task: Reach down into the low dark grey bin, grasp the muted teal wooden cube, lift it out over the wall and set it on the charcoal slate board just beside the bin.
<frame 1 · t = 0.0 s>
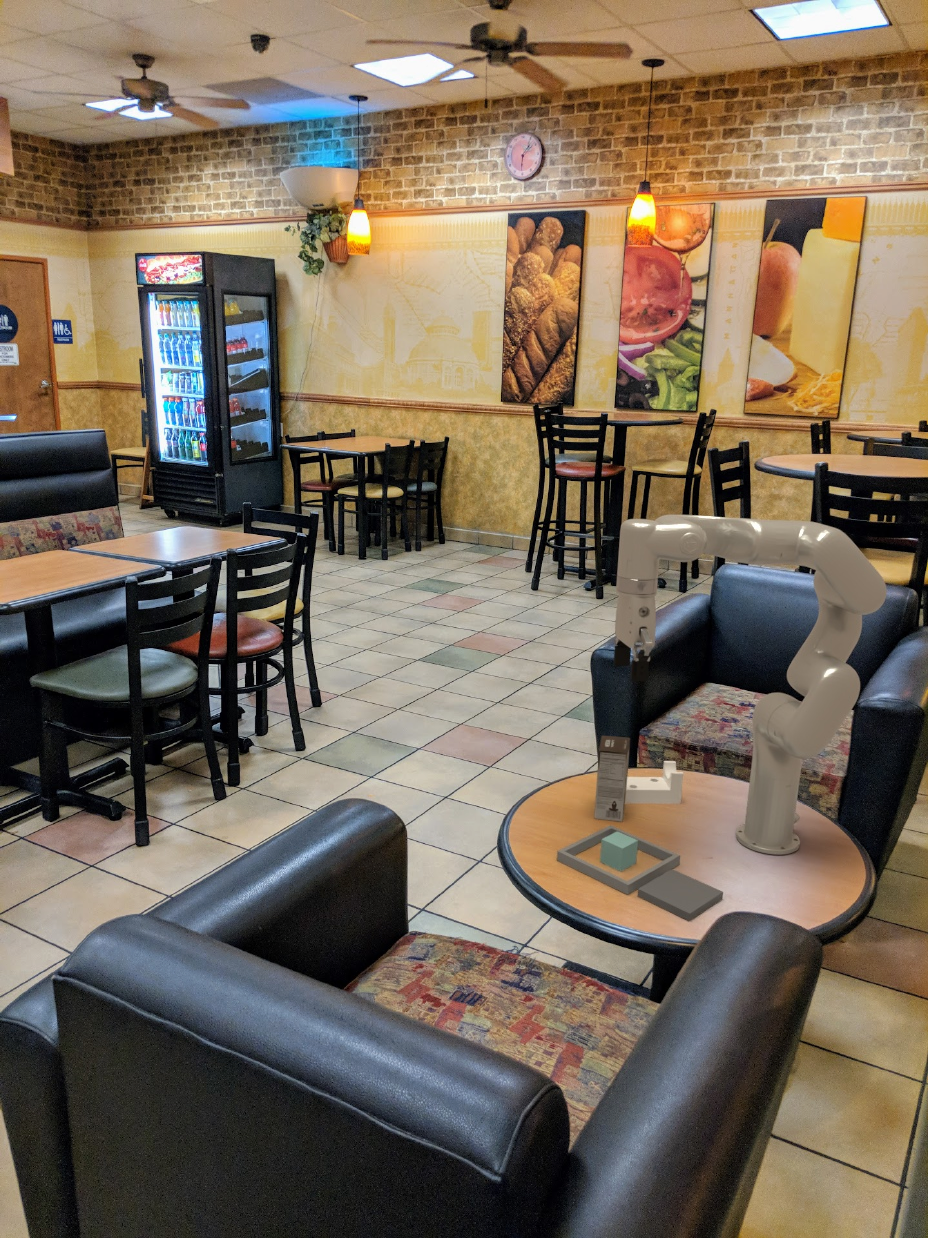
hand: (630, 672, 181), 37 cm above the table, tool pointing down, fingers open, 9 cm apart
coffee box: (609, 812, 207), on the table
low bin: (618, 862, 185), on the table
bracket: (648, 798, 215), on the table
slate board: (679, 897, 173), on the table
teal cube: (618, 863, 185), resting in low bin
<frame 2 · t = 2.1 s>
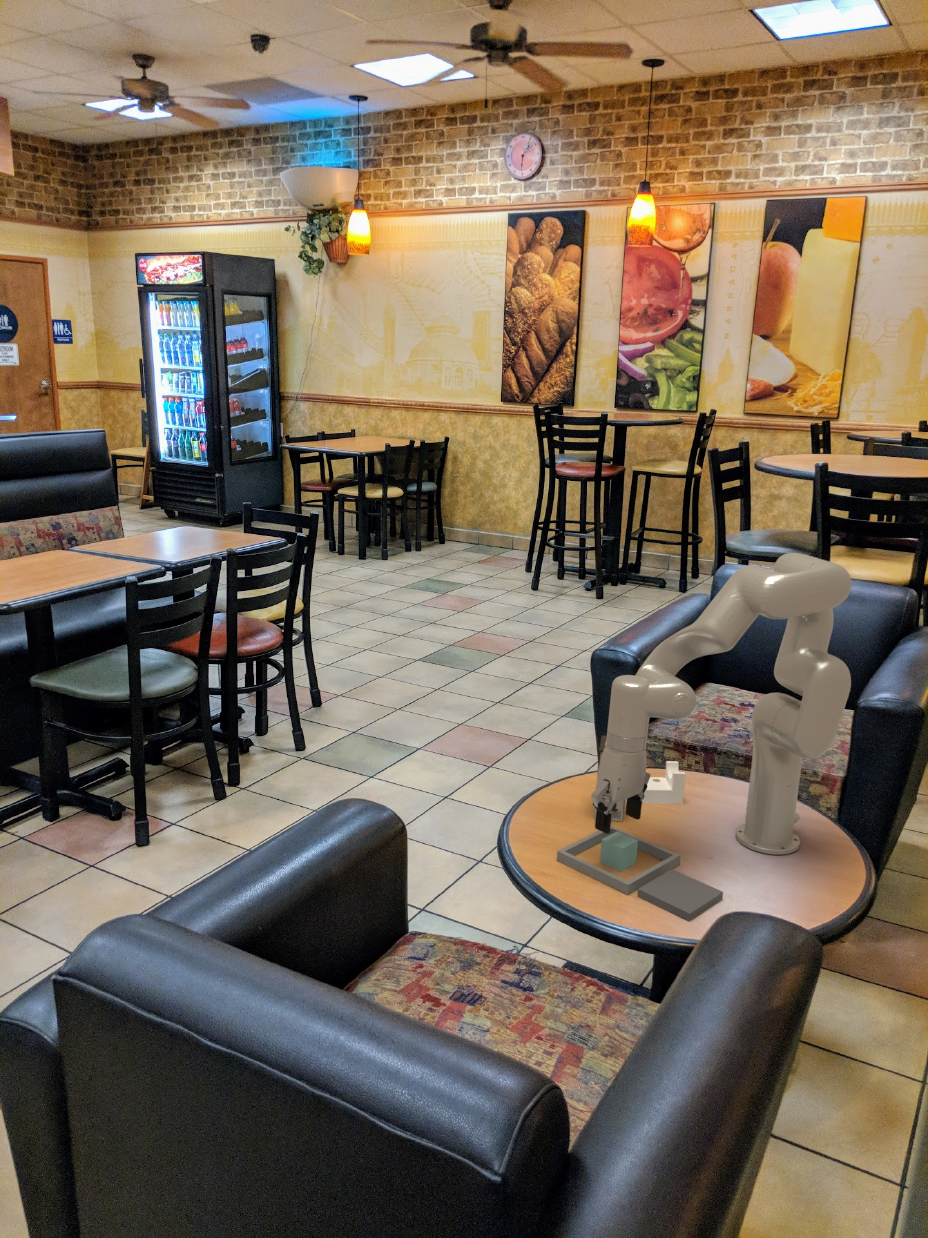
hand: (617, 823, 183), 8 cm above the table, tool pointing down, fingers open, 9 cm apart
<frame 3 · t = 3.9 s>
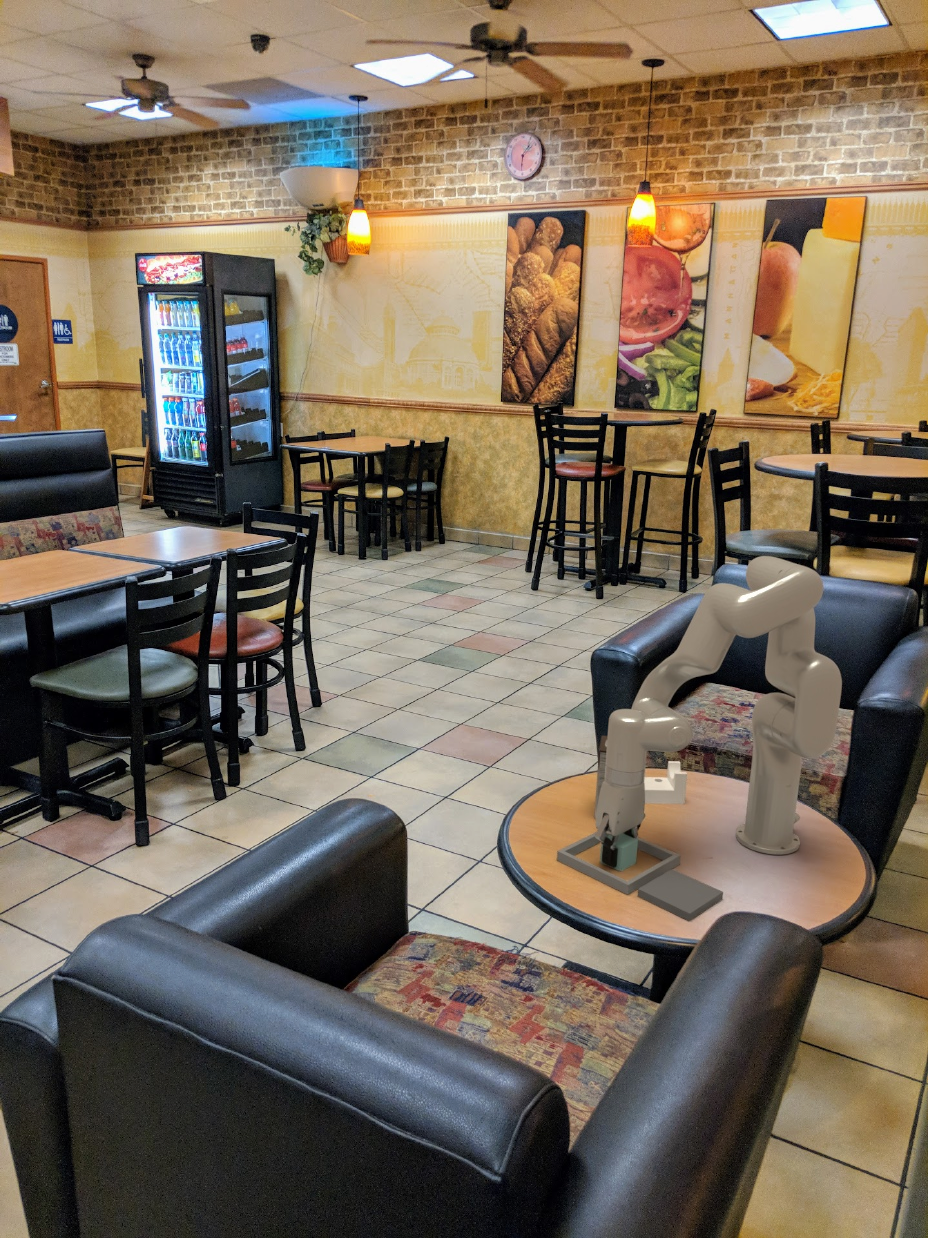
hand: (618, 859, 185), 1 cm above the table, tool pointing down, fingers closed on teal cube, 5 cm apart
teal cube: (617, 862, 185), resting in low bin, touching gripper
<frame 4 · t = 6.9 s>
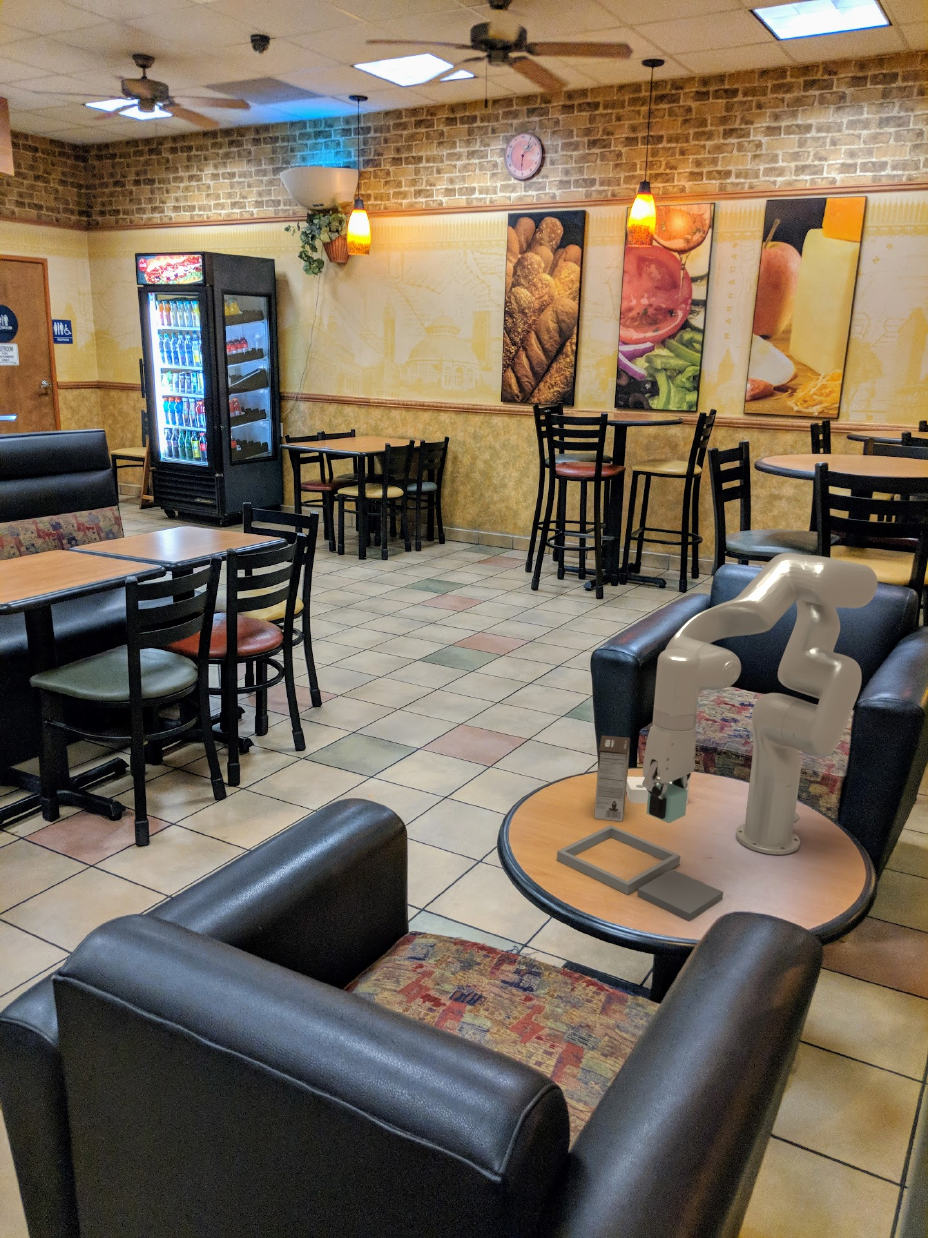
hand: (666, 810, 173), 15 cm above the table, tool pointing down, fingers closed on teal cube, 5 cm apart
teal cube: (665, 814, 173), point 15 cm above the table, touching gripper
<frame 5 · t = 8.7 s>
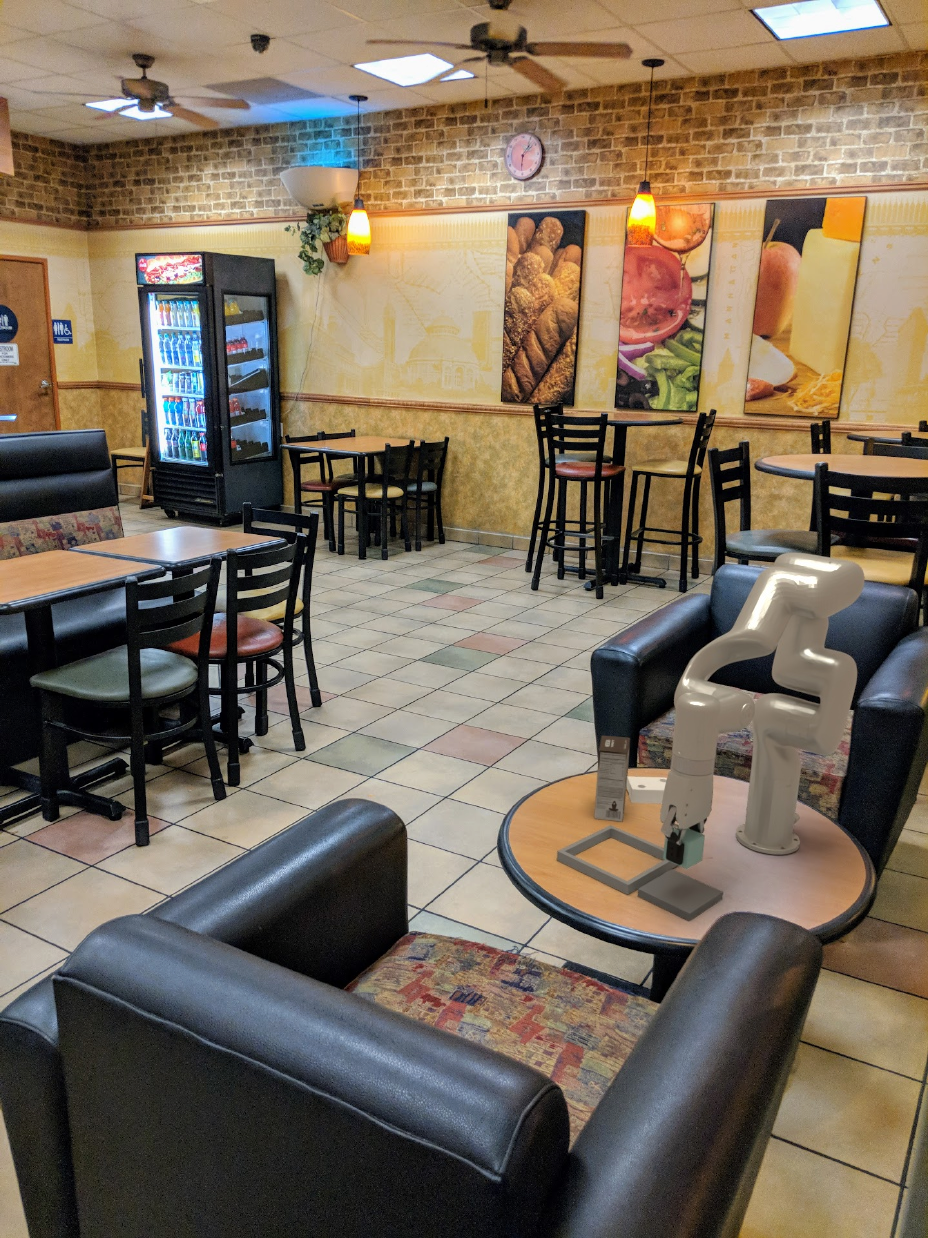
hand: (683, 856, 171), 9 cm above the table, tool pointing down, fingers closed on teal cube, 5 cm apart
teal cube: (682, 859, 171), point 8 cm above the table, touching gripper
when the fingers open (4 cm above the table, at t = 10.3 s): teal cube drops 2 cm, resting on slate board.
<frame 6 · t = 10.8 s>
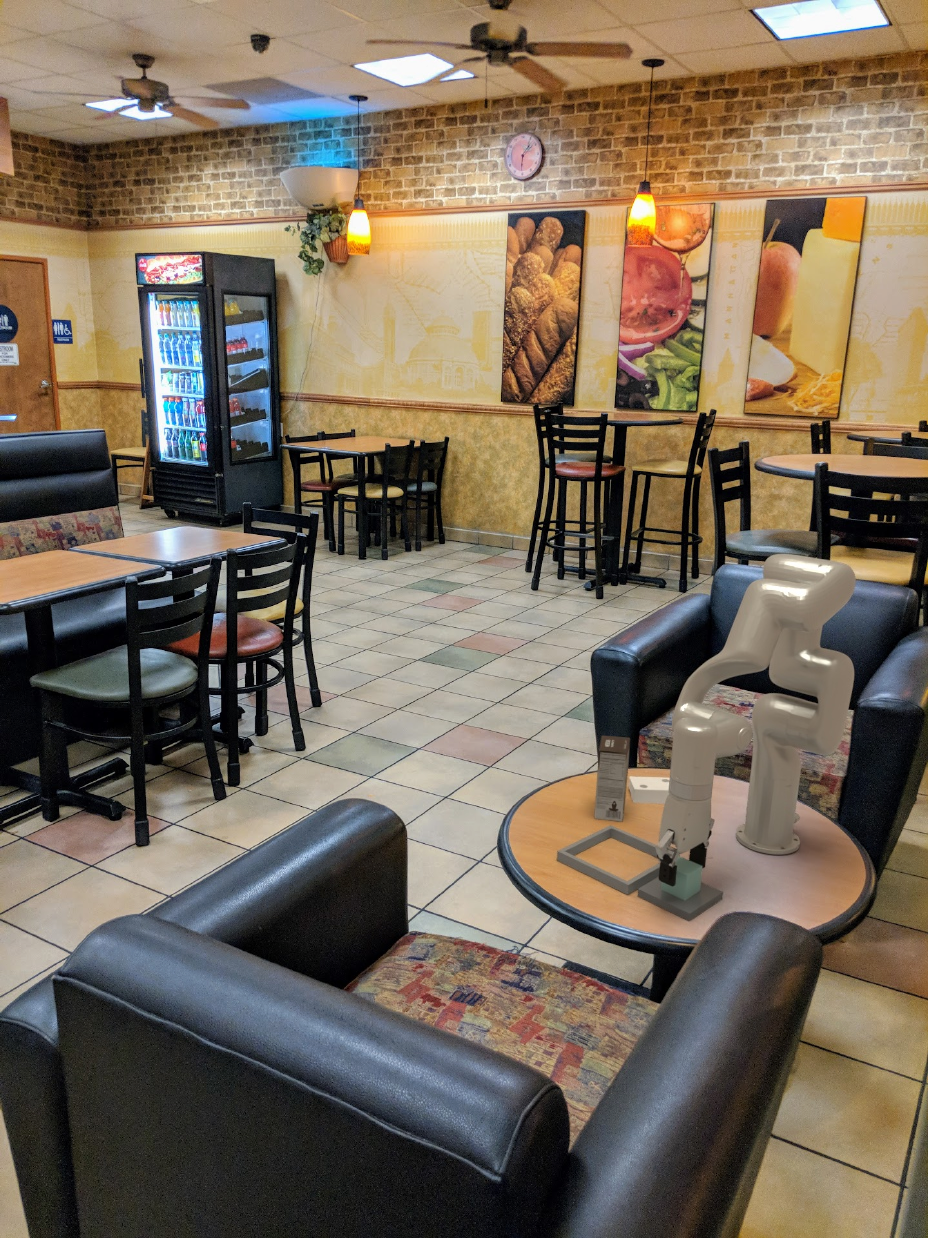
hand: (682, 874, 172), 5 cm above the table, tool pointing down, fingers open, 9 cm apart
teal cube: (680, 890, 172), point 1 cm above the table, touching slate board
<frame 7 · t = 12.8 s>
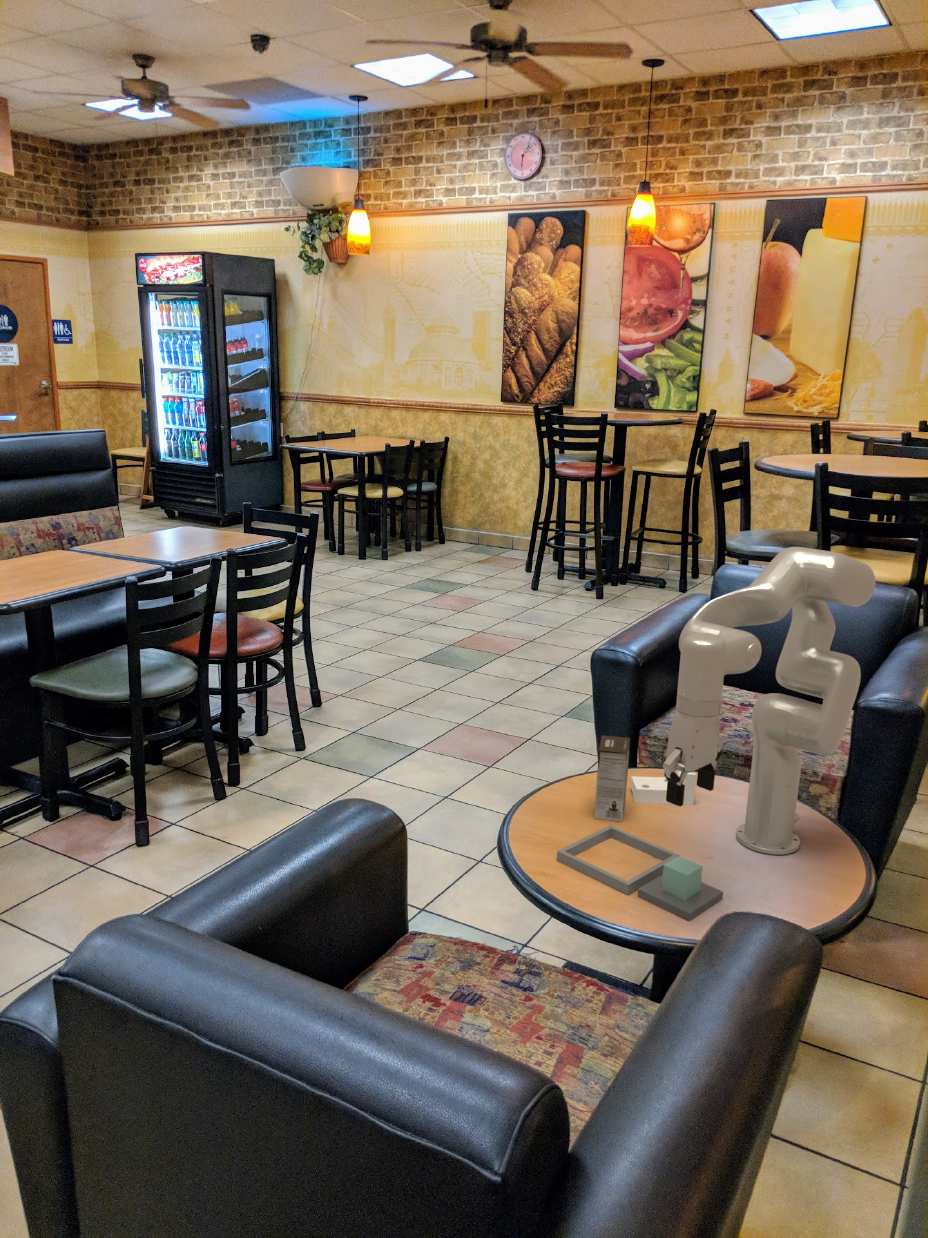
hand: (689, 795, 168), 20 cm above the table, tool pointing down, fingers open, 9 cm apart
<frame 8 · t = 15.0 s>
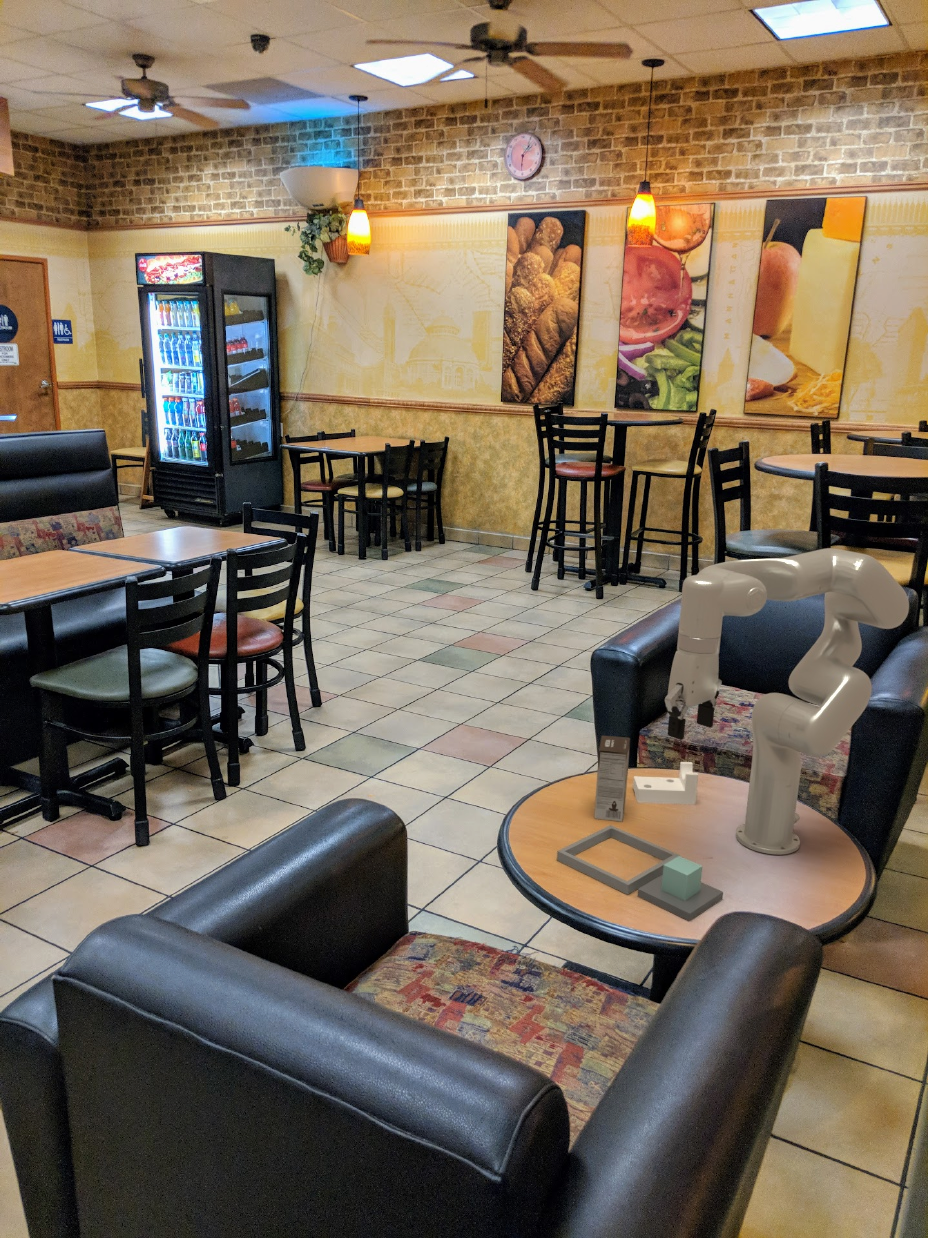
hand: (690, 731, 177), 28 cm above the table, tool pointing down, fingers open, 9 cm apart
at the end: teal cube inside the target area on the slate board (0.0 cm from its centre), point 1.5 cm above the slate board's base; teal cube tilted 0°; the gripper is holding nothing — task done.
